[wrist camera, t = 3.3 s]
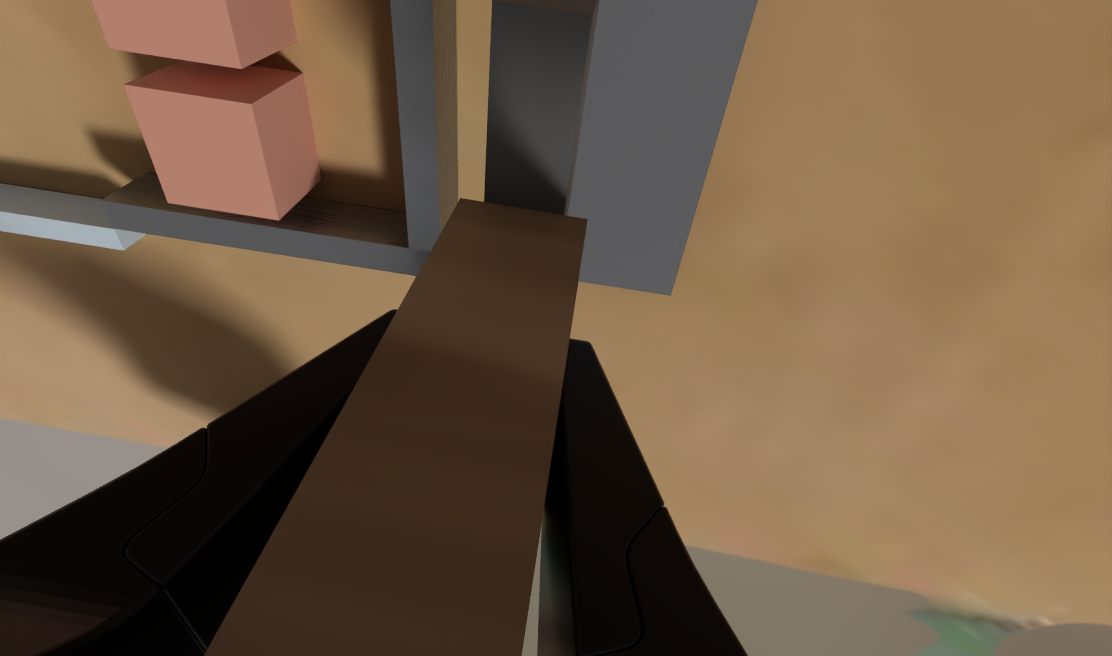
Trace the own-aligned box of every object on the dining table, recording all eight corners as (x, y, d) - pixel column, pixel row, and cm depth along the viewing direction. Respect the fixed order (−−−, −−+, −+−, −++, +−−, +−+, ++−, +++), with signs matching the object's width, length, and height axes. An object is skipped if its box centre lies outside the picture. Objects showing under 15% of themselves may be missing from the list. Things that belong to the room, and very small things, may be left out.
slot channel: (458, 246, 23) (441, 279, 21) (156, 199, 24) (113, 228, 22) (454, -179, 15) (425, -187, 13) (-16, -243, 15) (-112, -259, 13)
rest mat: (670, 287, 23) (670, 295, 23) (528, 265, 23) (526, 273, 23) (797, -154, 14) (803, -155, 14) (567, -185, 14) (564, -186, 14)
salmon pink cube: (322, 178, 22) (279, 220, 20) (224, 162, 22) (168, 202, 20) (304, 72, 20) (251, 104, 17) (193, 55, 20) (123, 84, 17)
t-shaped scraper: (563, 355, 16) (475, 904, 7) (480, 341, 16) (297, 872, 7) (625, -7, 10) (552, 583, 2) (495, -27, 10) (-221, 449, 2)
